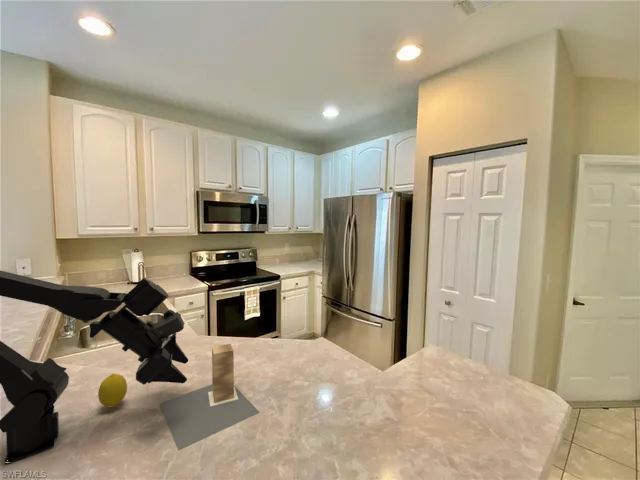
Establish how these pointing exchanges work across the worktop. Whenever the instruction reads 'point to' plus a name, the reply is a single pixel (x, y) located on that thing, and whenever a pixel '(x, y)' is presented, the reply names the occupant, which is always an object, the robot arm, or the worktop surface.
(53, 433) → the robot arm
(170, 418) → the mat
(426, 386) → the worktop surface
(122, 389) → the lemon
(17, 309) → the worktop surface
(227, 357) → the oak block
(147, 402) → the worktop surface
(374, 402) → the worktop surface
